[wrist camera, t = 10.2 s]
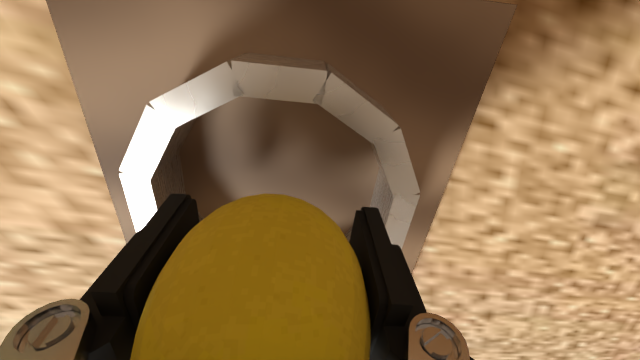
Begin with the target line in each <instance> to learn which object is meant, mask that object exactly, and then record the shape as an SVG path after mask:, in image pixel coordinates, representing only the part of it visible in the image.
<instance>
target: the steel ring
mask: <svg viewBox="0 0 640 360" xmlns="http://www.w3.org/2000/svg"><path fill="white" fill-rule="evenodd" d="M239 96H241V97H252V98H262V99H272V100H282V101H292V102H303V103H313V104H318V105H320V106H321V107H322V108H324V109H325V110H327V111H328V112H329V113H331V114H332V115H333V116H335V117H336V118H338V119H339V120H340V121H342V122H343V123H345V124H346V125H347V126H349V127H350V128H351V129H353V130H354V131H356V132H357V133H358V134H360V135H361V136H363V137H364V138H365V139H367V140H368V141H369V142H370V145H371V147H372V150H373V153H374V155H375V158H376V161H377V163H378V166H379V171H378V175H377V179H376V184H375V188H374V192H373V196H372V200H371V204H370V207H375V208H378V209H379V212H380V214H381V217H382V220H383V223H384V225H385V228H386V231H387V233H388V236H389V239H390V242H391V244H395V245H399V246H400V248H401V249H402V247H403V244H404V241H405V238H406V235H407V232H408V229H409V226H410V223H411V221H412V218H413V215H414V212H415V209H416V206H417V203H418V200H419V197H420V194H419V193H420V190H419V186H418V183H417V180H416V177H415V173H414V170H413V167H412V163H411V160H410V157H409V154H408V150H407V147H406V144H405V140H404V137H403V134H402V131H401V128H400V127H399V126H398V124H397V123H396V122H395V120H394V119H393V118H392V117H391V116H390V115H389V114H388V112H387V111H386V110H385V109H384V108H383V107H382V106H381V105H380V104H379V103H378V102H376V101H375V100H374V99H373V98H371V97H370V96H369V95H368V94H366V93H365V92H364V91H362V90H361V89H360V88H359V87H357V86H356V85H355V84H354V83H352V82H351V81H350V80H349V79H347V78H346V77H345V76H344V75H342V74H341V73H340V72H338V71H337V70H336V69H335V68H333V67H332V66H331V65H330V64H328V63H326V64H324V61H320V60H311V59H302V58H293V57H284V56H275V55H266V54H257V53H246V54H245V53H244V54H242V55H239V56H237V57H235V58H233V59H231V60H229V61H227V62H225V63H223V64H221V65H219V66H217V67H215V68H213V69H211V70H209V71H207V72H205V73H203V74H202V75H200V76H198V77H196V78H194V79H192V80H190V81H188V82H186V83H184V84H182V85H180V86H179V87H177V88H175V89H173V90H171V91H169V92H167V93H165V94H163V95H161V96H159V97H157V98H155V99H154V100H152V101H150V103H149V104H147V105H146V107H145V109H144V112H143V114H142V116H141V119H140V121H139V124H138V126H137V128H136V131H135V133H134V136H133V138H132V140H131V143H130V145H129V148H128V150H127V152H126V155H125V157H124V160H123V162H122V164H121V167H120V169H119V171H122V172H120V173H119V176H120V179H121V182H122V186H123V189H124V192H125V196H126V199H127V202H128V206H129V209H130V212H131V216H132V219H133V222H134V226H135V229H136V232H138V231H139V230H141V229H142V228H143V227H144V226H145V224H146V223H147V222H148V221H149V220H150V218H151V217H152V216H153V215H154V213H155V212H156V211H157V210H158V209H159V207H160V206H161V205H162V204H163V203H164V201H165V200H166V199H167V198H168V196H169V195H170V194H173V193H174V194H186V192H185V186H184V180H183V174H182V168H181V162H180V156H179V151H180V149H181V147H182V145H183V143H184V141H185V139H186V137H187V135H188V133H189V131H190V129H191V127H192V125H193V123H194V121H195V120H196V118H197V117H198V116H200V115H203V114H205V113H207V112H209V111H211V110H213V109H215V108H217V107H219V106H221V105H223V104H225V103H227V102H229V101H231V100H233V99H235V98H237V97H239ZM198 215H199V222H200V221H202V220H203V219H204V218H203V217H202V215H201V214H200V213H199V212H198ZM351 231H352V228H351V229H350V230H349V231H348V232H347V233H346V234H345V237H346V238H347V240H348V242H349V241H350V236H351Z"/></svg>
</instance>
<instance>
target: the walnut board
mask: <svg viewBox="0 0 640 360" xmlns="http://www.w3.org/2000/svg"><path fill="white" fill-rule="evenodd" d="M46 2H47V5H48V8H49V11H50V14H51V17H52V20H53V23H54V26H55V29H56V32H57V35H58V38H59V41H60V44H61V47H62V50H63V53H64V56H65V59H66V62H67V65H68V68H69V71H70V74H71V77H72V80H73V83H74V86H75V89H76V92H77V96H78V99H79V102H80V105H81V108H82V111H83V114H84V117H85V120H86V123H87V126H88V129H89V132H90V135H91V138H92V141H93V144H94V147H95V150H96V153H97V156H98V159H99V162H100V165H101V168H102V171H103V174H104V177H105V180H106V183H107V186H108V189H109V192H110V195H111V198H112V201H113V204H114V207H115V210H116V213H117V216H118V219H119V222H120V225H121V228H122V231H123V234H124V238H125V241H126V244H127V243H128V242H129V240H130V239H131V238H132V237H133V236H134V234H135V233H137V232H136V229H135V226H134V222H133V219H132V216H131V212H130V209H129V206H128V202H127V199H126V196H125V192H124V189H123V186H122V182H121V179H120V176H119V173H120V172H122V171H119V169H120V167H121V164H122V162H123V160H124V157H125V155H126V152H127V150H128V148H129V145H130V143H131V140H132V138H133V136H134V133H135V131H136V128H137V126H138V124H139V121H140V119H141V116H142V114H143V112H144V109H145V107H146V105H147V104H149V103H150V101H152V100H154V99H155V98H157V97H159V96H161V95H163V94H165V93H167V92H169V91H171V90H173V89H175V88H177V87H179V86H180V85H182V84H184V83H186V82H188V81H190V80H192V79H194V78H196V77H198V76H200V75H202V74H203V73H205V72H207V71H209V70H211V69H213V68H215V67H217V66H219V65H221V64H223V63H225V62H227V61H229V60H231V59H233V58H235V57H237V56H239V55H242V54H244V53H245V54H246V53H257V54H266V55H275V56H284V57H293V58H302V59H311V60H320V61H324V64H326V63H328V64H330V65H331V66H332V67H333V68H335V69H336V70H337V71H338V72H340V73H341V74H342V75H344V76H345V77H346V78H347V79H349V80H350V81H351V82H352V83H354V84H355V85H356V86H357V87H359V88H360V89H361V90H362V91H364V92H365V93H366V94H368V95H369V96H370V97H371V98H373V99H374V100H375V101H376V102H378V103H379V104H380V105H381V106H382V107H383V108H384V109H385V110H386V111H387V112H388V114H389V115H390V116H391V117H392V118H393V119H394V120H395V122H396V123H397V124H398V126H399V127H400V128H401V131H402V134H403V137H404V140H405V144H406V147H407V150H408V154H409V157H410V160H411V163H412V167H413V170H414V173H415V177H416V180H417V183H418V186H419V190H420V193H419V194H420V197H419V200H418V203H417V206H416V209H415V212H414V215H413V218H412V221H411V223H410V226H409V229H408V232H407V235H406V238H405V241H404V244H403V247H402V249H401V250H402V252H403V255H404V257H405V260H406V262H407V265H408V267H409V270H410V272H411V274H412V271H413V269H414V266H415V264H416V261H417V259H418V256H419V254H420V251H421V249H422V246H423V243H424V241H425V238H426V236H427V233H428V231H429V228H430V226H431V223H432V221H433V218H434V216H435V213H436V210H437V208H438V205H439V203H440V200H441V198H442V195H443V193H444V190H445V188H446V185H447V182H448V180H449V177H450V175H451V172H452V170H453V167H454V165H455V162H456V160H457V157H458V155H459V152H460V149H461V147H462V144H463V142H464V139H465V137H466V134H467V132H468V129H469V127H470V124H471V122H472V119H473V116H474V114H475V111H476V109H477V106H478V104H479V101H480V99H481V96H482V94H483V91H484V88H485V86H486V83H487V81H488V78H489V76H490V73H491V71H492V68H493V66H494V63H495V61H496V58H497V55H498V53H499V50H500V48H501V45H502V43H503V40H504V38H505V35H506V33H507V30H508V27H509V25H510V22H511V20H512V17H513V15H514V12H515V10H516V7H517V5H514V4H507V3H499V2H492V1H485V0H46ZM179 156H180V162H181V168H182V174H183V180H184V186H185V192H186V194H189V195H190V196H191V198H192V199H195V200H196V202H197V208H198V212H199V213H200V214H201V215H202V217H203V218H206V217H207V216H208V215H210V214H211V213H212V212H214V211H215V210H216V209H218V208H219V207H221V206H223V205H225V204H228V203H230V202H233V201H235V200H237V199H240V198H243V197H246V196H252V195H259V194H265V193H266V194H283V195H287V196H291V197H295V198H298V199H302V200H304V201H306V202H308V203H310V204H312V205H314V206H315V207H317V208H319V209H320V210H322V211H323V212H324V213H325V214H326V215H327V216H329V217H330V218H331V219H332V220H333V221H334V222H335V223H336V224H337V225H338V226H339V227H340V229H341V230H342V232H343V234H344V235H345V234H346V233H347V232H348V231H349V230H350V229H351V228H352V227H353V222H354V217H355V213H356V210H361V208H362V207H370V204H371V200H372V196H373V192H374V188H375V184H376V179H377V175H378V171H379V166H378V163H377V161H376V158H375V155H374V153H373V150H372V147H371V145H370V142H369V141H368V140H367V139H365V138H364V137H363V136H361V135H360V134H358V133H357V132H356V131H354V130H353V129H351V128H350V127H349V126H347V125H346V124H345V123H343V122H342V121H340V120H339V119H338V118H336V117H335V116H333V115H332V114H331V113H329V112H328V111H327V110H325V109H324V108H322V107H321V106H320V105H318V104H313V103H303V102H292V101H282V100H272V99H262V98H252V97H241V96H239V97H237V98H235V99H233V100H231V101H229V102H227V103H225V104H223V105H221V106H219V107H217V108H215V109H213V110H211V111H209V112H207V113H205V114H203V115H200V116H198V117H197V118H196V120H195V121H194V123H193V125H192V127H191V129H190V131H189V133H188V135H187V137H186V139H185V141H184V143H183V145H182V147H181V149H180V151H179Z"/></svg>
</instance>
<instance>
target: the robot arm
mask: <svg viewBox="0 0 640 360" xmlns="http://www.w3.org/2000/svg"><path fill="white" fill-rule="evenodd" d="M198 223H199V215H198V208H197V202H196V200H195V199H192V198H191V196H190V195H189V194H174V193H173V194H170V195H169V196H168V198H167V199H166V200H165V201H164V203H163V204H162V205H161V206H160V207H159V209H158V210H157V211H156V212H155V213H154V215H153V216H152V217H151V218H150V220H149V221H148V222H147V223H146V224H145V226H144V227H143V228H142V229H141V230H139V231H138V232H137V233H135V234H134V236H133V237H132V238H131V239H130V240H129V242H128V243H127V244H126V245H125V246H124V248H123V249H122V250H121V251H120V252H119V253H118V255H117V256H116V257H115V258H114V259H113V261H112V262H111V263H110V264H109V265H108V267H107V268H106V269H105V270H104V271H103V273H102V274H101V275H100V276H99V277H98V279H97V280H96V281H95V282H94V283H93V285H92V286H91V287H90V288H89V289H88V290H87V292H86V293H85V294H84V295H83V296H82V298H81V299H80V300H76V299H66V300H60V301H56V302H53V303H49V304H47V305H45V306H43V307H41V308H38V309H36V310H35V311H33V312H32V313H30V314H29V315H27V316H25V317H24V318H23V319H22V320H21V321H19V322H18V323H17V324H16V325H15V326H14V327H13V328H12V329H11V331H10V332H9V333H8V335H7V336H6V337H5V339H4V341H3V343H2V344H1V346H0V360H130V358H131V353H132V348H133V344H134V339H135V335H136V331H137V328H138V325H139V321H140V318H141V315H142V312H143V309H144V306H145V304H146V301H147V298H148V296H149V294H150V292H151V289H152V287H153V285H154V283H155V281H156V279H157V277H158V275H159V274H160V272H161V270H162V269H163V267H164V266H165V264H166V263H167V261H168V260H169V258H170V257H171V255H172V253H173V252H174V250H175V249H176V247H177V246H178V244H179V243H180V242H181V241H182V239H183V238H184V237H185V236H186V234H187V233H188V232H189V231H190V230H191V229H192V228H193V227H194V226H196V225H197V224H198ZM349 243H350V245H351V247H352V248H353V250H354V252H355V254H356V256H357V259H358V262H359V264H360V267H361V271H362V275H363V279H364V284H365V288H366V293H367V297H368V304H369V311H370V328H371V341H370V359H369V360H474V359H473V358H471V357H470V356H469V350H468V347H467V343H466V340H465V339H464V337H463V336H462V334H461V332H460V331H459V330H458V329H457V328H456V327H455V326H454V325H453V324H452V323H451V322H449V321H448V320H447V319H445V318H443V317H441V316H439V315H437V314H432V313H427V312H426V309H425V307H424V304H423V302H422V299H421V297H420V294H419V292H418V289H417V287H416V284H415V282H414V279H413V277H412V275H411V272H410V270H409V267H408V265H407V262H406V260H405V257H404V255H403V252H402V250H401V248H400V246H399V245H395V244H391V242H390V239H389V236H388V233H387V231H386V228H385V225H384V223H383V220H382V217H381V214H380V212H379V209H378V208H375V207H362V208H361V210H356V213H355V217H354V222H353V227H352V231H351V236H350V241H349Z"/></svg>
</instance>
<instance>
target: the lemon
mask: <svg viewBox="0 0 640 360" xmlns="http://www.w3.org/2000/svg"><path fill="white" fill-rule="evenodd" d="M370 341H371V328H370V311H369V304H368V297H367V293H366V288H365V284H364V279H363V275H362V271H361V267H360V264H359V262H358V259H357V256H356V254H355V252H354V250H353V248H352V247H351V245H350V243H349V242H348V240H347V238H346V237H345V235H344V234H343V232H342V230H341V229H340V227H339V226H338V225H337V224H336V223H335V222H334V221H333V220H332V219H331V218H330V217H329V216H327V215H326V214H325V213H324V212H323V211H322V210H320V209H319V208H317V207H315V206H314V205H312V204H310V203H308V202H306V201H304V200H302V199H298V198H295V197H291V196H287V195H283V194H266V193H265V194H259V195H252V196H246V197H243V198H240V199H237V200H235V201H233V202H230V203H228V204H225V205H223V206H221V207H219V208H218V209H216V210H215V211H214V212H212V213H211V214H210V215H208V216H207V217H206V218H204V219H203V220H202V221H200V222H199V223H198V224H197V225H196V226H194V227H193V228H192V229H191V230H190V231H189V232H188V233H187V234H186V236H185V237H184V238H183V239H182V241H181V242H180V243H179V244H178V246H177V247H176V249H175V250H174V252H173V253H172V255H171V257H170V258H169V260H168V261H167V263H166V264H165V266H164V267H163V269H162V270H161V272H160V274H159V275H158V277H157V279H156V281H155V283H154V285H153V287H152V289H151V292H150V294H149V296H148V298H147V301H146V304H145V306H144V309H143V312H142V315H141V318H140V321H139V325H138V328H137V331H136V335H135V339H134V344H133V348H132V353H131V358H130V360H369V359H370Z"/></svg>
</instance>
